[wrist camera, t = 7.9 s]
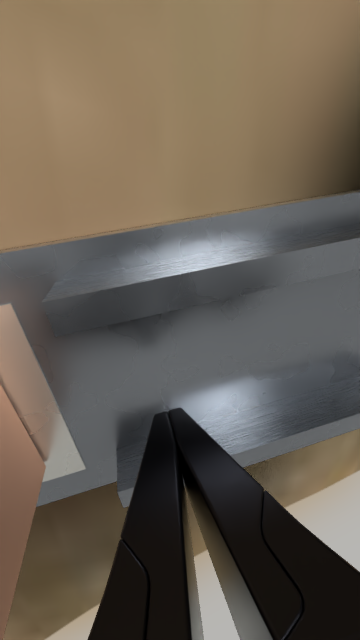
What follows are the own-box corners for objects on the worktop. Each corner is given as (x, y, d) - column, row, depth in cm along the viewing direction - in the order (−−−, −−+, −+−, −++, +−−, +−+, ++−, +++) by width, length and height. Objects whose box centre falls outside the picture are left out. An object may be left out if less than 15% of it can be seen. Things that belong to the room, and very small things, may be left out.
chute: (400, 182, 11) (495, 175, 8) (358, 388, 16) (409, 426, 13) (-428, 322, 7) (-780, 399, 4) (-144, 542, 12) (-221, 644, 9)
